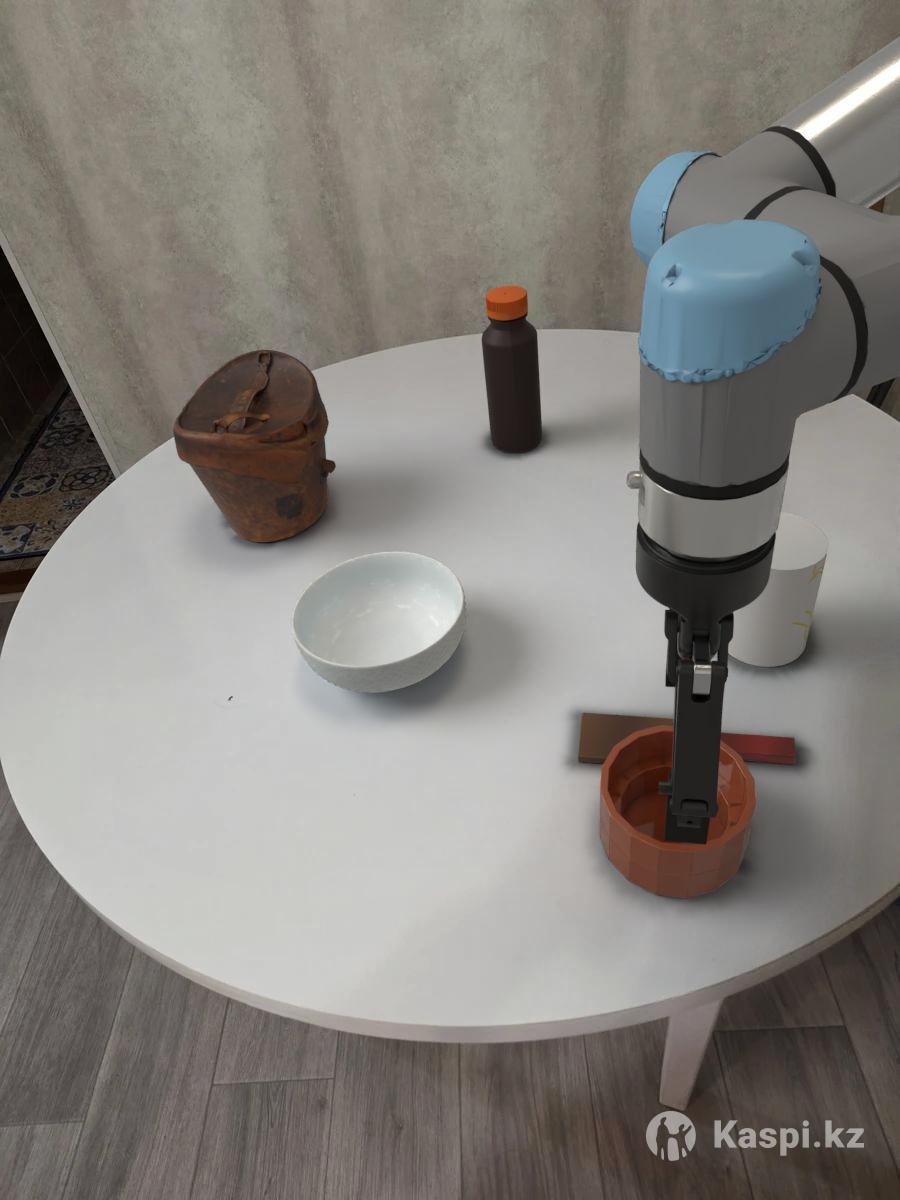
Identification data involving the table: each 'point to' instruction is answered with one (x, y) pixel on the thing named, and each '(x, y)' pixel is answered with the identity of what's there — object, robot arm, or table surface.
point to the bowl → (640, 818)
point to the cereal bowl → (380, 621)
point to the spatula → (612, 729)
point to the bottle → (511, 371)
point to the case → (259, 444)
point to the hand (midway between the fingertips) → (684, 755)
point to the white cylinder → (783, 597)
